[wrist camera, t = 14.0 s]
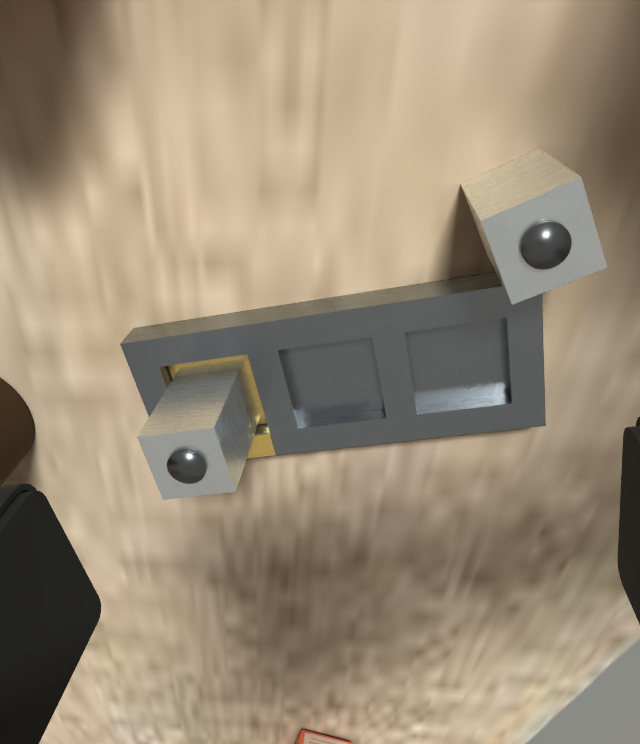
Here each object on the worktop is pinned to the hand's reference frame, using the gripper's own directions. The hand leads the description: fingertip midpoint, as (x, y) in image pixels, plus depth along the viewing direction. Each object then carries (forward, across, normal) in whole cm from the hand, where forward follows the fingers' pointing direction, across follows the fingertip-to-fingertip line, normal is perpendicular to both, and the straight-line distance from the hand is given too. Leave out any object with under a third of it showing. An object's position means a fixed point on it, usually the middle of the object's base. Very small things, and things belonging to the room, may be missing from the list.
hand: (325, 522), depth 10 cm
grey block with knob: (+27, +12, +12) cm, 32 cm away
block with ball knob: (+28, -8, +3) cm, 30 cm away
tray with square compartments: (+28, +4, +12) cm, 31 cm away
